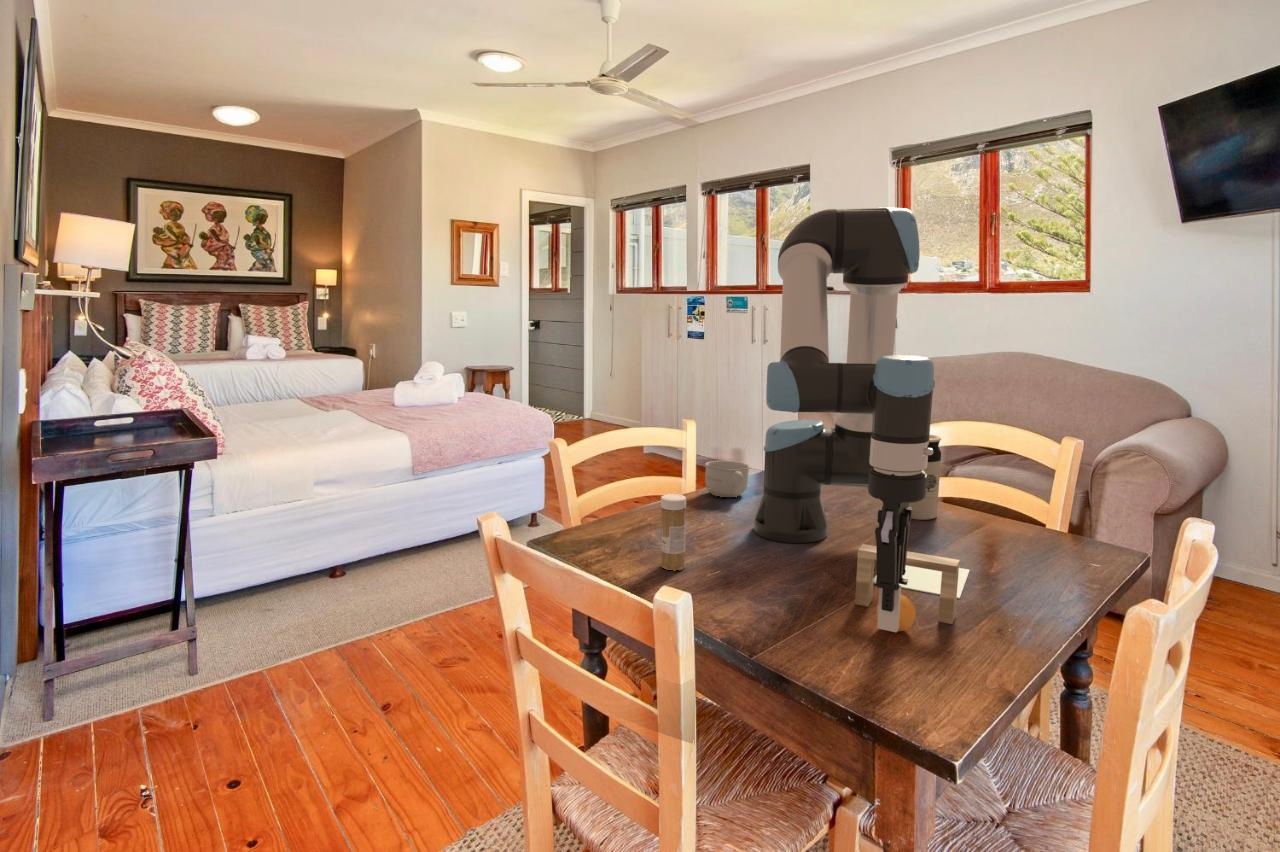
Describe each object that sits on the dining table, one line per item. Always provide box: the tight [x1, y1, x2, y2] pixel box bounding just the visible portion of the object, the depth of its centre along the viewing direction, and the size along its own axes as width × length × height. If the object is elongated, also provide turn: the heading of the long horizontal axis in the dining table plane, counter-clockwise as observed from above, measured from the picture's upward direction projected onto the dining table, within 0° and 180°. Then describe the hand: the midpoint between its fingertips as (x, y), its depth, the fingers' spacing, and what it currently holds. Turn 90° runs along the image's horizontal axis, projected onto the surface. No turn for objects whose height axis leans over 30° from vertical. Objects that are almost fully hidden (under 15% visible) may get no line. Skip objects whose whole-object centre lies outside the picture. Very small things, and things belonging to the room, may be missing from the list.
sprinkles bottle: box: [660, 493, 687, 572], centre depth 131 cm, size 5×5×14 cm
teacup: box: [704, 460, 750, 498], centre depth 177 cm, size 14×11×8 cm
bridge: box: [854, 543, 960, 625], centre depth 113 cm, size 3×14×9 cm, turn 59°
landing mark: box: [873, 565, 971, 600], centre depth 127 cm, size 14×14×1 cm
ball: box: [875, 593, 917, 632], centre depth 107 cm, size 6×6×6 cm
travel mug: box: [909, 434, 942, 521], centre depth 161 cm, size 8×8×18 cm
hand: (887, 628), depth 104 cm, fingers closed
